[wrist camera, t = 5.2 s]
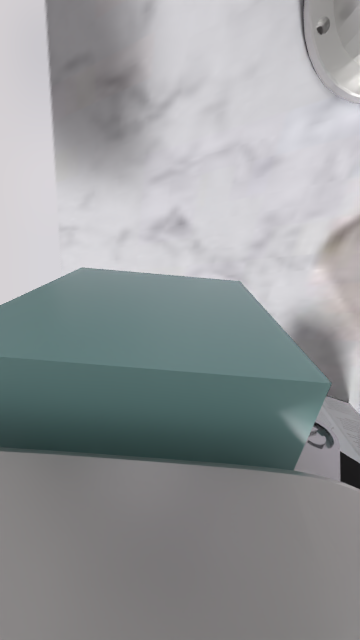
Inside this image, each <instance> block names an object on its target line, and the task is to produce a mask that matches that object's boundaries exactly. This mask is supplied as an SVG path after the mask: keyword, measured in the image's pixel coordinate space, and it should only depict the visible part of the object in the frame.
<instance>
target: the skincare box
mask: <svg viewBox="0 0 360 640" xmlns="http://www.w3.org/2000/svg"><path fill="white" fill-rule="evenodd" d="M316 420H318V421H320V422H322V423H323V424H325V425H326V426H327V427H329V428H330V429H331V430H332V431H333V432H334V433H335V435H336V436H337V438H338V440H339V444H340V451H341V452H342V453H344V454H346V455H347V456H349V457H350V458H352V459H354V460H355V461H357V462H359V463H360V415H359V414H358V412H357V411H356V410H355V409H354V408H353V407H352V406H351V404H350V403H347V402H344V401H340V400H337V399H334V398H331V397H328V396H326V398H325V400H324V402H323V405H322V407H321V409H320V411H319V414H318V416H317V418H316Z"/></svg>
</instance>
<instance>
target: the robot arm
mask: <svg viewBox="0 0 360 640" xmlns="http://www.w3.org/2000/svg"><path fill="white" fill-rule="evenodd" d="M303 15H304V32H305V40H306V44H307V49H308V53H309V57H310V60H311V62H312V64H313V67H314V69H315V71H316V74H317V75H318V76H319V78H320V79H321V81H322V82H323V83H324V85H325V86H326V87H327V88H328V89H329V90H330V91H332V92H333V93H334V94H335V95H336V96H338V97H340V98H342V99H344V100H346V101H349V102H352V103H358V104H360V0H304V13H303ZM318 32H319V33H320V34H319V33H318ZM0 640H360V463H359V462H357V461H355V460H354V459H352V458H350V457H349V456H347V455H346V454H344V453H342V452H341V451H340V444H339V440H338V438H337V436H336V435H335V433H334V432H333V431H332V430H331V429H330V428H329V427H327V426H326V425H325V424H323V423H322V422H320V421H318V420H315V423H314V425H313V427H312V430H311V432H310V434H309V436H308V439H307V441H306V443H305V445H304V448H303V450H302V452H301V455H300V457H299V459H298V461H297V464H296V466H295V468H294V470H286V469H279V468H269V467H258V466H248V465H237V464H226V463H213V462H201V461H188V460H175V459H163V458H149V457H136V456H122V455H108V454H94V453H80V452H66V451H51V450H36V449H21V448H6V447H0Z"/></svg>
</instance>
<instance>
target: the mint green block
mask: <svg viewBox="0 0 360 640" xmlns="http://www.w3.org/2000/svg"><path fill="white" fill-rule="evenodd" d="M331 384H332V383H331V382H330V381H329V380H328V379H327V377H326V376H325V375H324V374H323V373H322V372H321V371H320V370H319V369H318V367H317V366H316V365H315V364H314V363H313V362H312V361H311V360H310V359H309V358H308V356H307V355H306V354H305V353H304V352H303V351H302V350H301V349H300V348H299V346H298V345H297V344H296V343H295V342H294V341H293V340H292V339H291V338H290V336H289V335H288V334H287V333H286V332H285V331H284V330H283V329H282V328H281V326H280V325H279V324H278V323H277V322H276V321H275V320H274V319H273V318H272V316H271V315H270V314H269V313H268V312H267V311H266V310H265V309H264V308H263V306H262V305H261V304H260V303H259V302H258V301H257V300H256V299H255V298H254V296H253V295H252V294H251V293H250V292H249V291H248V290H247V289H246V288H245V287H244V285H243V284H242V283H241V282H240V281H230V280H219V279H207V278H196V277H184V276H173V275H161V274H150V273H139V272H127V271H116V270H104V269H93V268H80V269H78V270H76V271H73V272H71V273H69V274H67V275H65V276H63V277H61V278H58V279H56V280H54V281H52V282H50V283H48V284H45V285H43V286H41V287H39V288H37V289H35V290H32V291H30V292H28V293H26V294H24V295H22V296H20V297H17V298H15V299H13V300H11V301H9V302H7V303H4V304H2V305H0V447H6V448H21V449H36V450H51V451H66V452H80V453H94V454H108V455H122V456H136V457H149V458H163V459H175V460H188V461H201V462H213V463H226V464H237V465H248V466H258V467H269V468H279V469H286V470H294V468H295V466H296V464H297V461H298V459H299V457H300V455H301V452H302V450H303V448H304V445H305V443H306V441H307V439H308V436H309V434H310V432H311V430H312V427H313V425H314V423H315V420H316V418H317V416H318V414H319V411H320V409H321V407H322V405H323V402H324V400H325V398H326V395H327V393H328V391H329V389H330V386H331Z"/></svg>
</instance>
